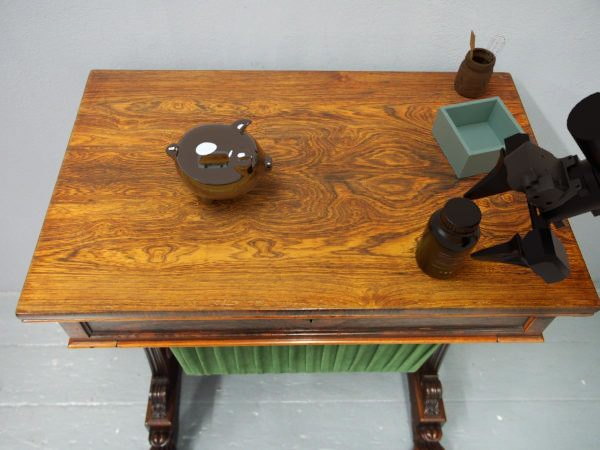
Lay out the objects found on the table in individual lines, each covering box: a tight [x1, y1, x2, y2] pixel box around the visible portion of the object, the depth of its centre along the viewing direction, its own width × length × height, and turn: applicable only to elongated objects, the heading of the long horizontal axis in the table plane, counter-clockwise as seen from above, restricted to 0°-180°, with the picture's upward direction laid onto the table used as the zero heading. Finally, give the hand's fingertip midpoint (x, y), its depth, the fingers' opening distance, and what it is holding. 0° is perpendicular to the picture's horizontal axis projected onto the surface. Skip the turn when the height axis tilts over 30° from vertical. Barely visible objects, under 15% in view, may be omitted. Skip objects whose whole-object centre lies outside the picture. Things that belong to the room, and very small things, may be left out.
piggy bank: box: [164, 118, 274, 206], centre depth 72 cm, size 11×15×12 cm
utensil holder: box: [453, 29, 506, 99], centre depth 87 cm, size 6×6×12 cm
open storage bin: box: [430, 96, 526, 180], centre depth 81 cm, size 11×11×6 cm
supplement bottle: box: [414, 196, 483, 280], centre depth 66 cm, size 7×7×12 cm
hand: (467, 226), depth 64 cm, fingers open, 9 cm apart
